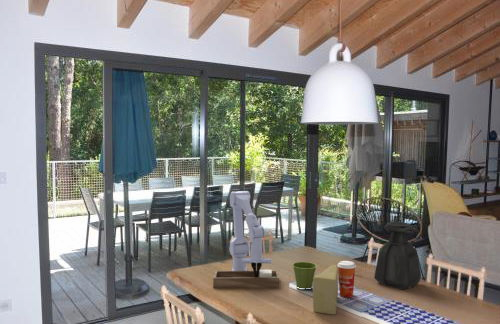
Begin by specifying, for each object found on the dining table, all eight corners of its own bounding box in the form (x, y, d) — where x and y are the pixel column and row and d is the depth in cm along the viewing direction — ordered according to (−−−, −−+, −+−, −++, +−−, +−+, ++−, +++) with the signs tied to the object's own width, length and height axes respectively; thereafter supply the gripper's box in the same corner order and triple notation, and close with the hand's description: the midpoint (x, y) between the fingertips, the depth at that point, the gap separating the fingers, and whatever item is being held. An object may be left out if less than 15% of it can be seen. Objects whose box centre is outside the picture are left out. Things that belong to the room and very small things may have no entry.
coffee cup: (334, 296, 193) (335, 264, 193) (340, 291, 201) (340, 259, 200) (353, 299, 189) (353, 266, 189) (357, 294, 197) (358, 261, 196)
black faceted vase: (372, 283, 212) (373, 223, 210) (388, 276, 223) (389, 219, 222) (407, 292, 199) (408, 228, 198) (422, 284, 211) (423, 223, 209)
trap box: (215, 279, 218) (215, 270, 218) (277, 279, 218) (277, 270, 218) (213, 287, 206) (213, 278, 206) (279, 287, 206) (279, 278, 206)
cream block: (259, 277, 215) (259, 269, 215) (271, 277, 215) (271, 269, 215) (259, 281, 209) (259, 273, 209) (271, 281, 209) (271, 273, 209)
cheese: (325, 294, 196) (325, 262, 196) (346, 297, 192) (346, 264, 192) (312, 312, 176) (312, 276, 175) (335, 315, 172) (335, 279, 171)
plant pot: (316, 293, 198) (316, 269, 198) (290, 291, 200) (290, 267, 200) (317, 284, 210) (317, 262, 209) (293, 283, 212) (293, 260, 212)
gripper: (241, 252, 207) (241, 280, 208) (271, 252, 207) (271, 280, 208) (241, 249, 214) (242, 275, 215) (270, 249, 214) (270, 275, 215)
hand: (256, 277), depth 212 cm, fingers closed
